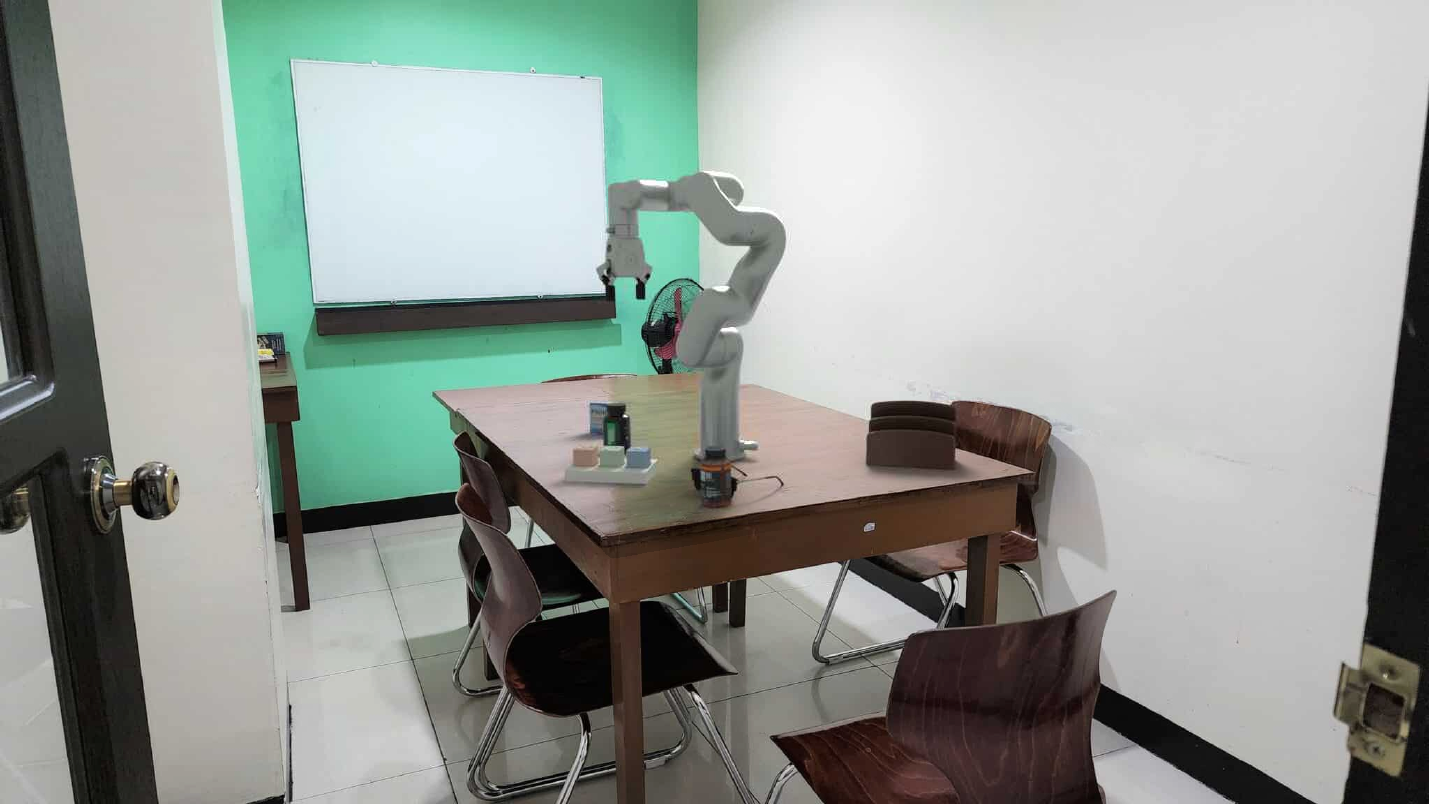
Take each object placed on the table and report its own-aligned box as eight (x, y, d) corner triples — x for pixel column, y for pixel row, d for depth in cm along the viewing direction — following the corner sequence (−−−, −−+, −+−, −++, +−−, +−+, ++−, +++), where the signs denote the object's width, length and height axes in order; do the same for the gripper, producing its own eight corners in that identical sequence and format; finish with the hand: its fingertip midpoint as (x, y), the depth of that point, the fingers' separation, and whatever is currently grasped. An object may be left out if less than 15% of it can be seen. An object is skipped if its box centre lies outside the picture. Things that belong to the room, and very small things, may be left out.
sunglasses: (689, 490, 180) (689, 466, 180) (742, 480, 192) (743, 458, 191) (736, 503, 171) (737, 478, 170) (789, 492, 182) (790, 469, 181)
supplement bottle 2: (730, 499, 172) (730, 444, 170) (732, 508, 166) (732, 450, 164) (700, 500, 172) (700, 444, 170) (701, 508, 166) (700, 451, 164)
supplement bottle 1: (613, 456, 210) (611, 407, 208) (598, 451, 215) (596, 404, 213) (636, 452, 214) (635, 404, 212) (621, 447, 219) (620, 400, 217)
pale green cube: (624, 463, 193) (624, 445, 192) (619, 468, 188) (619, 449, 188) (605, 463, 193) (604, 445, 193) (599, 468, 189) (599, 449, 188)
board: (658, 470, 196) (658, 459, 195) (646, 484, 184) (646, 472, 184) (581, 467, 198) (581, 457, 198) (564, 481, 187) (564, 470, 186)
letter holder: (869, 456, 208) (871, 398, 206) (955, 460, 203) (957, 401, 201) (865, 465, 199) (866, 405, 197) (954, 470, 194) (957, 409, 191)
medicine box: (589, 434, 236) (588, 402, 235) (596, 430, 240) (595, 400, 239) (616, 435, 234) (615, 404, 232) (622, 432, 238) (622, 401, 237)
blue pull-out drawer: (650, 464, 192) (650, 446, 191) (646, 469, 187) (646, 450, 187) (631, 464, 192) (631, 445, 192) (626, 468, 188) (626, 450, 187)
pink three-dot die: (598, 463, 194) (597, 444, 193) (592, 468, 189) (592, 449, 189) (579, 462, 194) (578, 444, 193) (573, 467, 190) (572, 448, 189)
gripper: (605, 231, 211) (607, 302, 214) (659, 232, 223) (661, 299, 226) (587, 232, 217) (589, 301, 219) (641, 233, 228) (643, 298, 231)
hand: (625, 300), depth 223 cm, fingers open, 9 cm apart
